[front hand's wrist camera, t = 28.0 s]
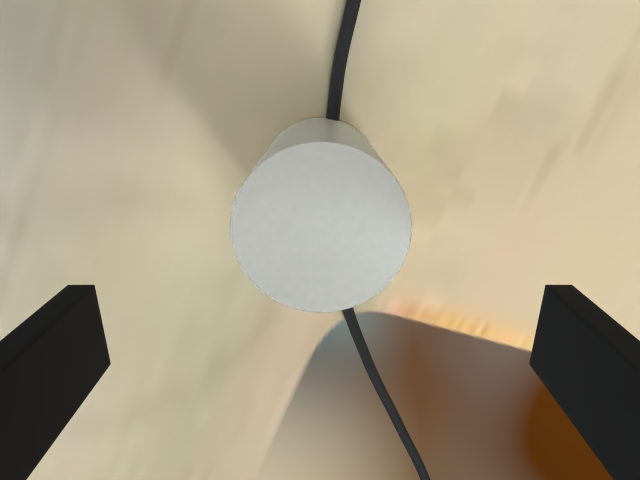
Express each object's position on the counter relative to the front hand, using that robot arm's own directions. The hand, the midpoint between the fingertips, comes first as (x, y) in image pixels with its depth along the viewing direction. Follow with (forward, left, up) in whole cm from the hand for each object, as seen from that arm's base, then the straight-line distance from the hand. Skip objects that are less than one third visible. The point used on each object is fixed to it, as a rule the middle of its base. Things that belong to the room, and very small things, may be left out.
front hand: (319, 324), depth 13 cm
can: (0, 0, -20) cm, 20 cm away
